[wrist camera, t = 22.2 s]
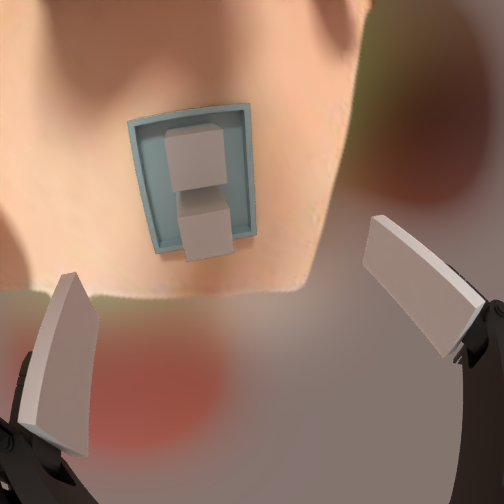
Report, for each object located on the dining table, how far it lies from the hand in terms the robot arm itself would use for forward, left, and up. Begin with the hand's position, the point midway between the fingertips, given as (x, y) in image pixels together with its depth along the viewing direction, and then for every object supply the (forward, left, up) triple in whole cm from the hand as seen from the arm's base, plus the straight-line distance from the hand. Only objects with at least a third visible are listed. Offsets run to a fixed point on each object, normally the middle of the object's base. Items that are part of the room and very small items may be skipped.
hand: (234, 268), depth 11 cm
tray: (0, -4, -29) cm, 29 cm away
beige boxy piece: (0, -9, -28) cm, 30 cm away
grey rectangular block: (0, 0, -28) cm, 28 cm away
